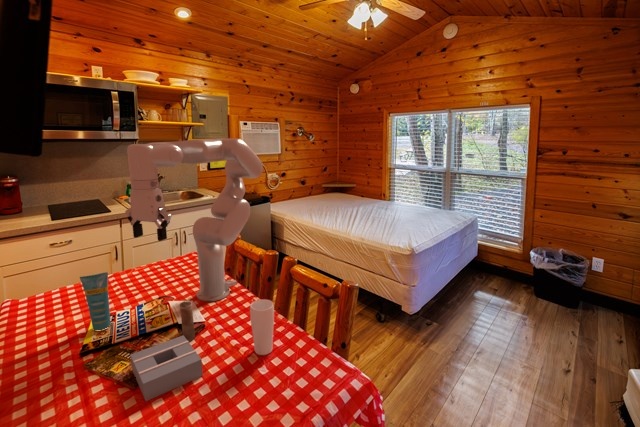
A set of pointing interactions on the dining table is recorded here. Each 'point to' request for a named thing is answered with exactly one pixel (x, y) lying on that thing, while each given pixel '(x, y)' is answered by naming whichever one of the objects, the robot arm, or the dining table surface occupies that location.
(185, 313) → the walnut peg
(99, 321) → the tube
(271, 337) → the drinking glass
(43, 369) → the dining table surface
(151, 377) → the socket block
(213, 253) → the robot arm
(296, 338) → the dining table surface
